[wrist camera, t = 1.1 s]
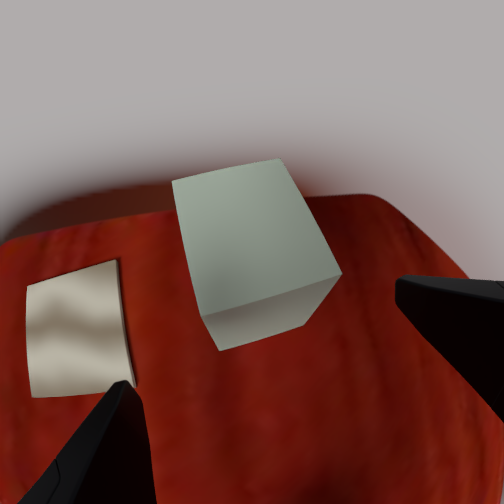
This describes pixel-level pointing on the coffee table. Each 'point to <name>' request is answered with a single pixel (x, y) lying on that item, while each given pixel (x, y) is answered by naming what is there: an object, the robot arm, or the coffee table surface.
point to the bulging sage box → (252, 251)
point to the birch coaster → (77, 333)
